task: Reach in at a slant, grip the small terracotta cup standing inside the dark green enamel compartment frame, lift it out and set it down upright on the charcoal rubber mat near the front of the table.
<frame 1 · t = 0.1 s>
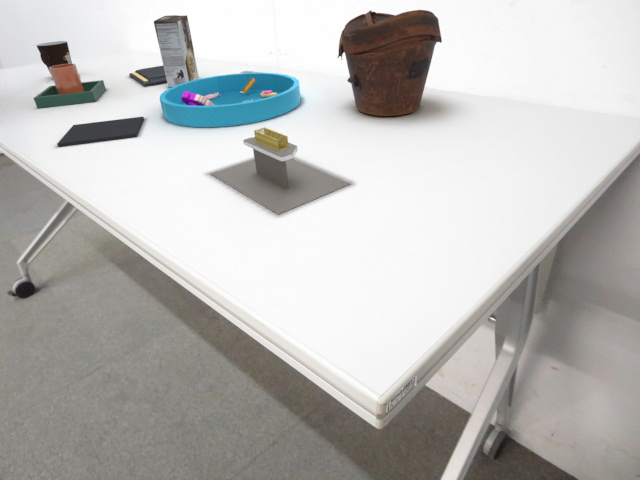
platform: (277, 179, 63), on the table
coffee mug: (60, 78, 141), on the table
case: (386, 108, 90), on the table
mat: (104, 132, 88), on the table
wallet: (162, 77, 132), on the table, touching coffee box
coffee box: (183, 83, 122), on the table, touching wallet
compartment: (73, 98, 115), on the table
cup: (68, 82, 113), in the compartment
art supply organizer: (233, 106, 99), on the table
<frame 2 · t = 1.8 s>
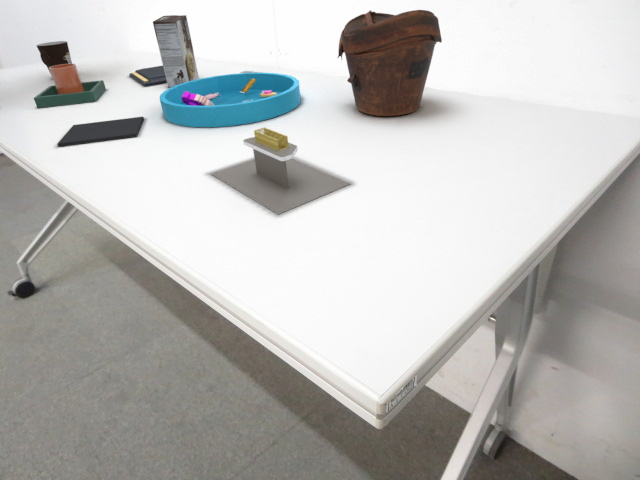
nothing on the table moved.
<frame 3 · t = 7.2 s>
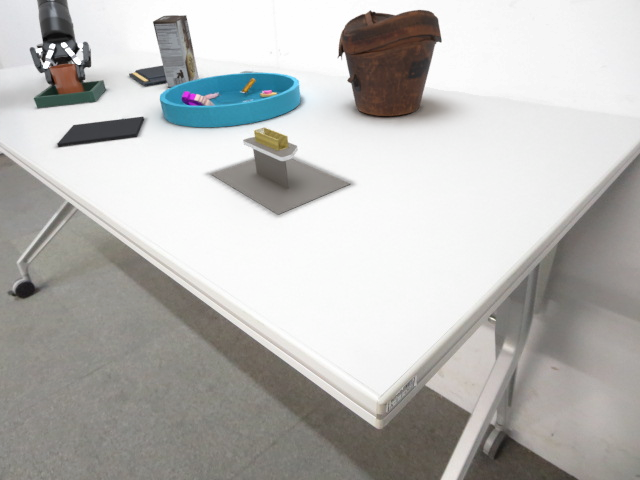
hand: (66, 82, 111), 4 cm above the table, tool tilted 45°, fingers closed on cup, 6 cm apart
cup: (68, 82, 113), in the compartment, touching gripper
everything else where it was.
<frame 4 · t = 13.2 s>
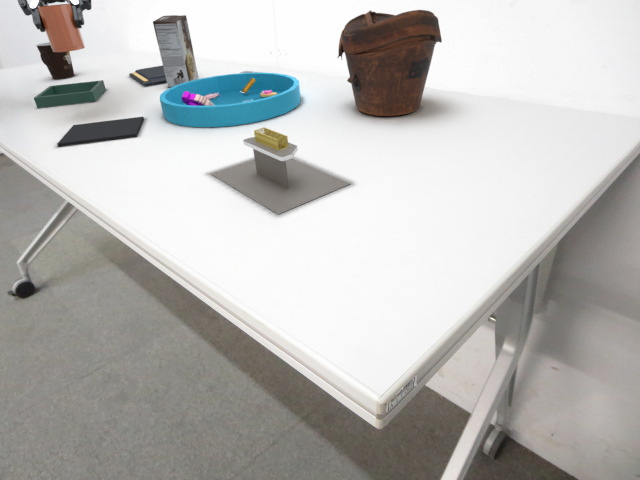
hand: (60, 26, 87), 18 cm above the table, tool tilted 45°, fingers closed on cup, 6 cm apart
cup: (62, 28, 89), point 18 cm above the table, touching gripper
everything else where it was.
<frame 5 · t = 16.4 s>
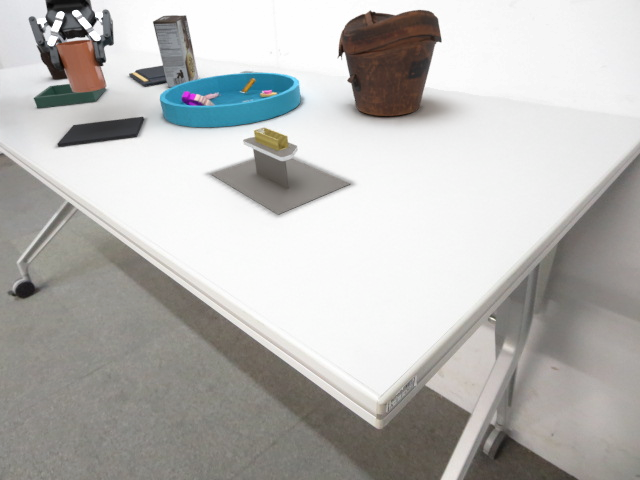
hand: (80, 65, 80), 13 cm above the table, tool tilted 45°, fingers closed on cup, 6 cm apart
cup: (82, 66, 81), point 12 cm above the table, touching gripper
everything else where it was.
when the fingers open (5 cm above the table, at t = 19.1 s): cup stays where it is, resting on mat.
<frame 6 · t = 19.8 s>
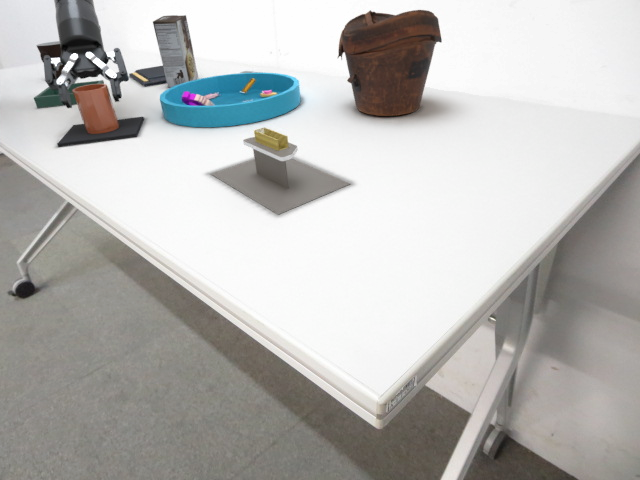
hand: (92, 102, 84), 6 cm above the table, tool tilted 45°, fingers open, 8 cm apart
cup: (96, 108, 86), on the mat, point 5 cm above the table
everything else where it was.
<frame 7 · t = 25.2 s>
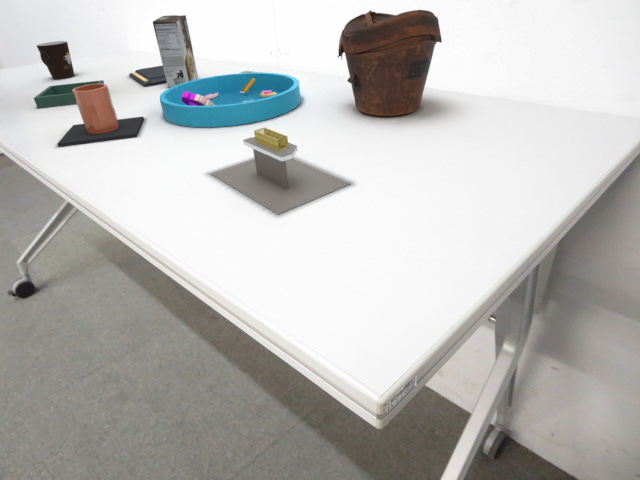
nothing on the table moved.
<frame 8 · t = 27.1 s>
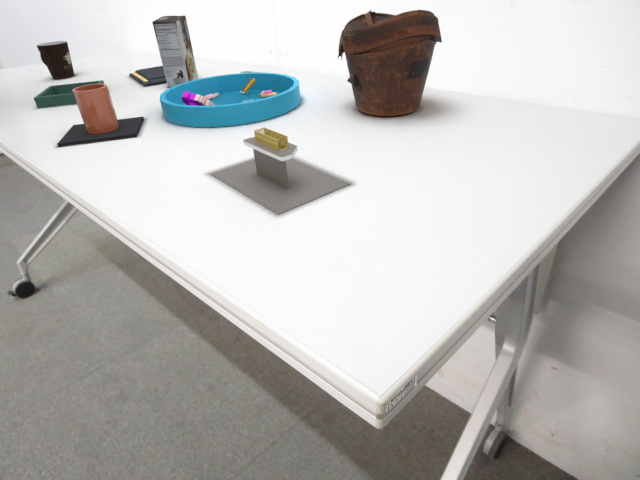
nothing on the table moved.
at the end: cup inside the target area on the mat (0.0 cm from its centre), point 4.6 cm above the mat's base; cup tilted 0°; the gripper is holding nothing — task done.
